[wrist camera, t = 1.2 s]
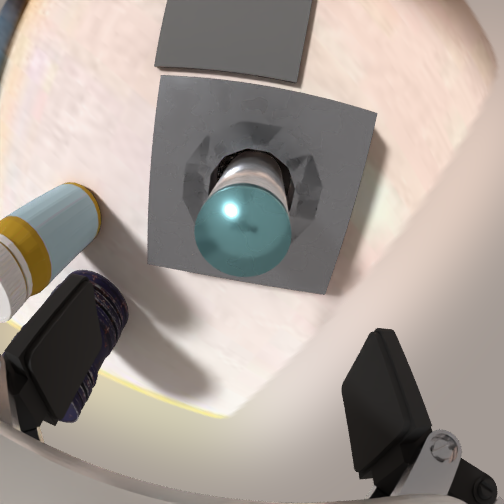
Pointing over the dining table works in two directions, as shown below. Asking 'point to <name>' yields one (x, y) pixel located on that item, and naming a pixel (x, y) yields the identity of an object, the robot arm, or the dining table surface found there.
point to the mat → (235, 36)
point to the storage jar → (111, 326)
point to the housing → (264, 139)
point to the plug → (245, 218)
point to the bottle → (43, 242)
